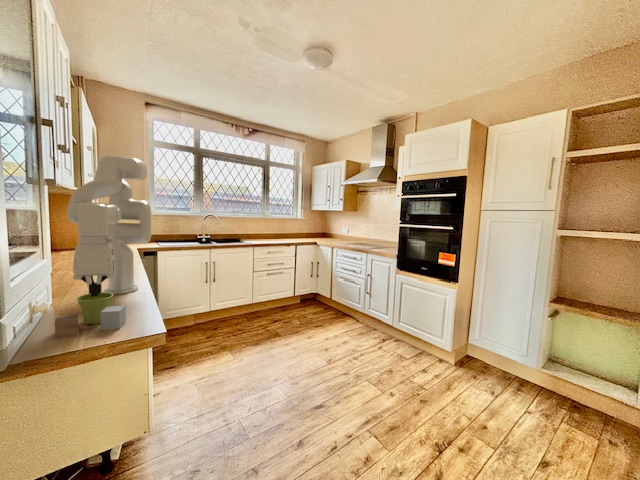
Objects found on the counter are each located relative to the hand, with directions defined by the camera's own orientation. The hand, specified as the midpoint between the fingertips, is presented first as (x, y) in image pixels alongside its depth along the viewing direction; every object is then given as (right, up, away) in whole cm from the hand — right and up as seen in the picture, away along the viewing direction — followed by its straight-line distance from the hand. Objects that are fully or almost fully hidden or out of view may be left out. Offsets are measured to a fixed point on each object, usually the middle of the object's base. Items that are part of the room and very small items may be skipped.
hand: (95, 295), depth 88 cm
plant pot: (0, -9, +1) cm, 9 cm away
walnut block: (-1, -10, -9) cm, 13 cm away
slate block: (+8, -10, -3) cm, 13 cm away
